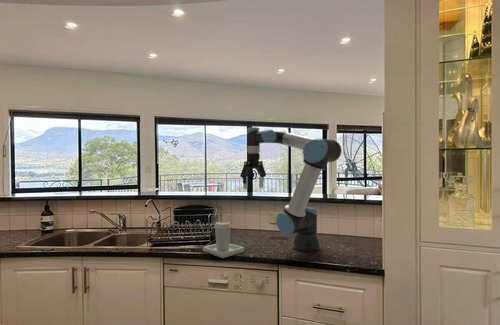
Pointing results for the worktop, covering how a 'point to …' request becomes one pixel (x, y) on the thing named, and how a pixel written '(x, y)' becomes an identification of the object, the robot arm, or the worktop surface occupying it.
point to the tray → (232, 251)
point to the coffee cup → (222, 235)
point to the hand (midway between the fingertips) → (253, 188)
